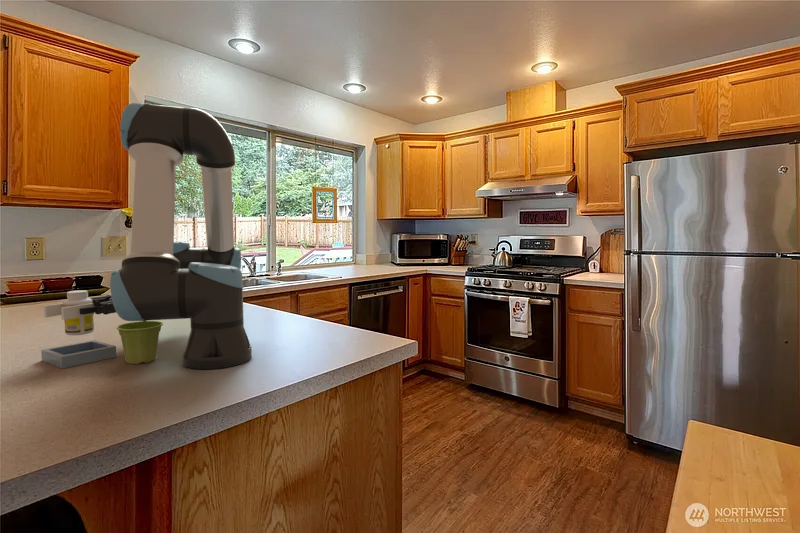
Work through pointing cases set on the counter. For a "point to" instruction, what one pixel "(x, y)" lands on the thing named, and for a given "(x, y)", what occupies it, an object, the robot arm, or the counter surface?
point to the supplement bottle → (80, 323)
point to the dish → (78, 353)
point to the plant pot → (140, 340)
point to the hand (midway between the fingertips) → (53, 312)
